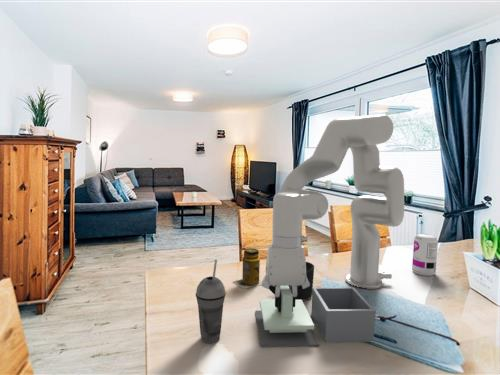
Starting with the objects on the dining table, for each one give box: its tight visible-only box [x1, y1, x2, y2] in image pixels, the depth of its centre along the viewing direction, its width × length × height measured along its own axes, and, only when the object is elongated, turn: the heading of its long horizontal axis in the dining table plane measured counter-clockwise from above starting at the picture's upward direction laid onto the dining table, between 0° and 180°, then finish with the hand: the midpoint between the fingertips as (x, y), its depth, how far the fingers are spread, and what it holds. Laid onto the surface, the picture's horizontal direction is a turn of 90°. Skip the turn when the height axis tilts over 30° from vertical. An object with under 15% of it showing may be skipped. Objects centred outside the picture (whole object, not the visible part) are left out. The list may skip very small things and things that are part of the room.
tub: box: [310, 286, 376, 343], centre depth 85 cm, size 12×14×8 cm
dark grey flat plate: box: [255, 310, 320, 348], centre depth 84 cm, size 14×17×1 cm
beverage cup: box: [195, 259, 226, 345], centre depth 78 cm, size 7×7×20 cm
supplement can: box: [411, 233, 439, 277], centre depth 127 cm, size 8×8×15 cm
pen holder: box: [288, 261, 315, 301], centre depth 104 cm, size 9×9×10 cm
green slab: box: [259, 285, 315, 333], centre depth 84 cm, size 12×14×8 cm
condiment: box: [232, 247, 262, 290], centre depth 113 cm, size 7×8×12 cm
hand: (284, 308), depth 84 cm, fingers closed on green slab, 2 cm apart
